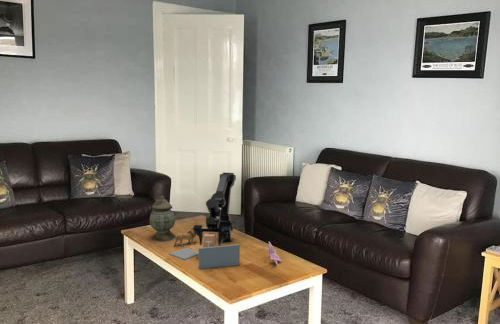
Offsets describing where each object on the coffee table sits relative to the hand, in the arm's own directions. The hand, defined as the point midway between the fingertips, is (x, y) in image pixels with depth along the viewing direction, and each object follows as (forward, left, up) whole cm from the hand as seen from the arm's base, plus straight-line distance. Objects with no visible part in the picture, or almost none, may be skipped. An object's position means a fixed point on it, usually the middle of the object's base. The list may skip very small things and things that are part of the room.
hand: (209, 245), depth 227 cm
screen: (-3, +7, -8) cm, 11 cm away
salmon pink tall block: (0, 0, -8) cm, 8 cm away
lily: (-29, +10, -8) cm, 32 cm away
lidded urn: (+18, -44, -8) cm, 48 cm away
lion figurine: (+7, -29, -8) cm, 31 cm away
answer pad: (+10, -14, -8) cm, 19 cm away
